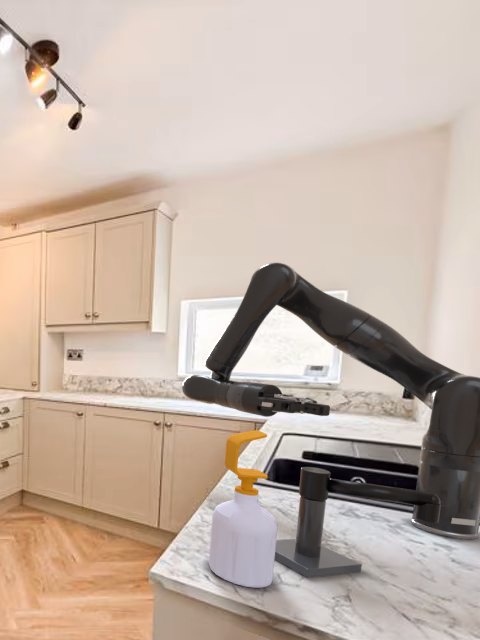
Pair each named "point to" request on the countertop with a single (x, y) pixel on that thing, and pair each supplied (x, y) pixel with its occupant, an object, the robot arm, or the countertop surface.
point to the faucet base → (314, 564)
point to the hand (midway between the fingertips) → (326, 410)
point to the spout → (368, 492)
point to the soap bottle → (243, 526)
